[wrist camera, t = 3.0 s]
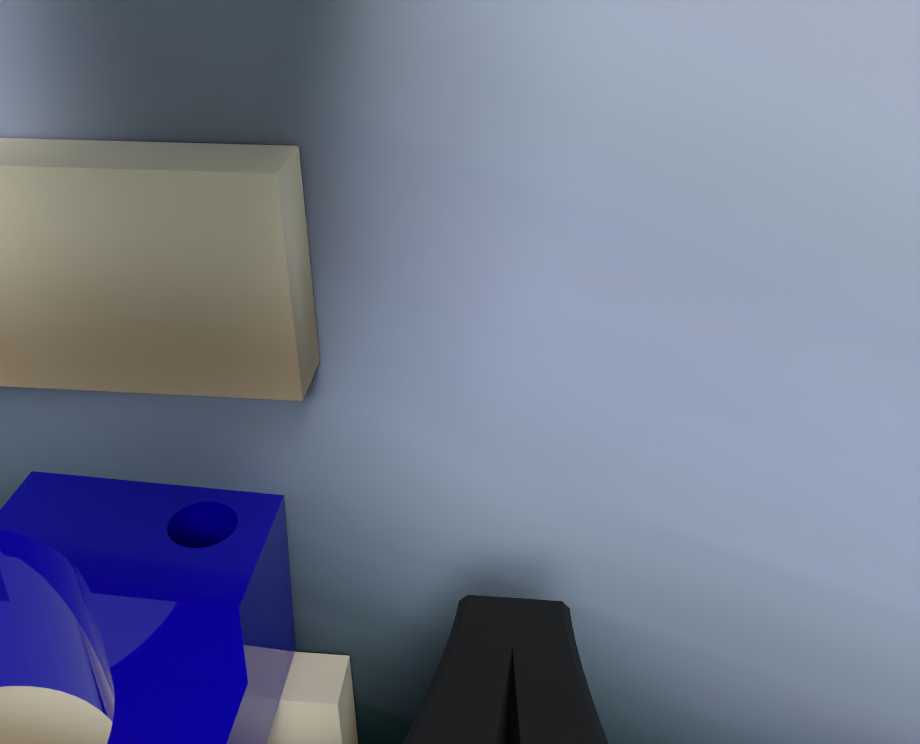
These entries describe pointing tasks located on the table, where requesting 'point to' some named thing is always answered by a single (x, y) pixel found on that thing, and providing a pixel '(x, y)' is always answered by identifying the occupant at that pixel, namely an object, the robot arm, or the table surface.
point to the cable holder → (149, 604)
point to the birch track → (161, 328)
